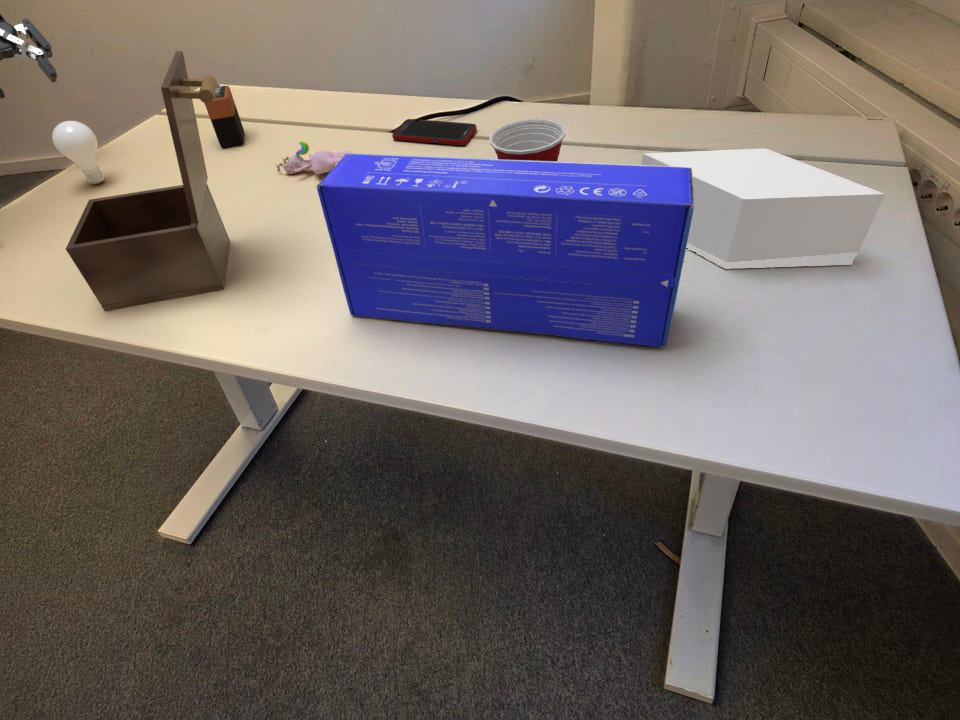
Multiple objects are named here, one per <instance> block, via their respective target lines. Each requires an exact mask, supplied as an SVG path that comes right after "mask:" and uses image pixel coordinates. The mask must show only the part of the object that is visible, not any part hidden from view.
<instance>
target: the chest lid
mask: <svg viewBox="0 0 960 720" xmlns="http://www.w3.org/2000/svg"><path fill="white" fill-rule="evenodd" d="M187 70H188V69H187V66H186V61H185V56H184V52H183V50H182V51H180V50H179V51H178V50H175V53H174V55H173V57H172V59H171V62H170V65H169V67H168V69H167V72H166V74H165V76H164V78H163V81H162V83H161V86H160V91H161V95H162V99H163V103H164V107H165V112H166V117H167V122H168V125H169V129H170V134H171V138H172V143H173V147H174V151H175V156H176V161H177V164H178V169H179V173H180V177H181V182H182V185H183V187H184V191H185V195H186V200H187V204H188V209H189V213H190V217H191V222H192V224H198V223H199V219H200V214H201V209H202V204H203V199H204V194H205V189H206V184H207V185H208V179H209V177H208V171H207V165H206V162H205V156H204V152H203V147H202V142H201V135H200V131H199V126H198V121H197V116H196V110H195V106H194V101H193V100H200V101H201V103H204V104H205V103H207V104H208V103H211V102H212V101H213V100H214V95H215V91H216V87H217V84H218V81H217V79H216V78H215V76H213V75H211V74H207V75H204V76H203V78H189V76H188V71H187ZM191 87H192V88H193V87H194V88H195V87H196V88H199V90H191Z"/></svg>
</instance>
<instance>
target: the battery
mask: <svg viewBox="0 0 960 720" xmlns="http://www.w3.org/2000/svg"><path fill="white" fill-rule="evenodd" d="M204 106H205V109H206V111H207V114H208V117H209V119H210V122H211V125H212V127H213V130H214V133H215V135H216V139H217V141H218V144H219V146H220V148H221V149H226V148H233V147H238V146H243V145H244V141H245V128H244V125H243V123H242V120H241V117H240V115H239V111H238V109H237V105H236V102H235V100H234V96H233V94H232V91H231V88H230V86H229V85H222V86H221V85H220V83H217V87H216V91H215V95H214V100H213V101H212V102H211V103H208V104H207V103H204Z"/></svg>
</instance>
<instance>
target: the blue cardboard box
mask: <svg viewBox="0 0 960 720" xmlns="http://www.w3.org/2000/svg"><path fill="white" fill-rule="evenodd" d="M316 190H317V194H318V197H319V202H320V205H321V209H322V213H323V216H324V217H323V218H324V221H325V224H326V228H327V232H328V235H329V239H330V243H331V247H332V251H333V254H334V259H335V262H336V266H337V270H338V274H339V278H340V282H341V285H342V289H343V293H344V296H345V301H346V303H347V308H348V311H349V314H350V315H351V316H353V317H358V318H372V319H373V318H374V319H383V320H391V321H392V320H394V321H402V322H410V323H411V322H412V323H422V324H431V325H445V326H452V327H460V328H461V327H462V328H471V329H472V328H473V329H482V330H492V331H501V332H503V331H504V332H511V333H512V332H513V333H523V334H535V335H545V336H546V335H547V336H559V337H561V338H572V339H580V340H581V339H582V340H591V341H598V342H599V341H600V342H608V343H609V342H611V343H620V344H629V345H638V346H639V345H640V346H647V347H648V346H650V347H659V346H665V347H667V346H668V342H669V341H668V340H669V337H670V336H669V335H670V330H671V326H672V321H673V316H674V311H675V307H676V302H677V301H676V300H677V296H678V291H679V286H680V281H681V275H682V272H683V265H684V262H685V261H684V260H685V255H686V251H687V249H686V246H687V241H688V235H689V231H690V226H691V221H692V216H693V210H694V187H693V171H692V169H691V168H689V167H676V166H652V165H641V164H627V163H626V164H624V163H603V162H576V161H575V162H574V161H557V162H553V161H527V160H500V159H498V158H497V159H496V158H468V157H467V158H466V157H447V156H445V157H443V156H422V155H421V156H420V155H419V156H417V155H395V154H373V153H372V154H369V153H368V154H367V153H353V154H345V156H344V157H343V158H342V159H341V160H340V161H339V162H338V163H336V164H335V167H334V168H333V169H332V170H331V171H329V172H328V174H326V176H324V177H323V178H322V179H321V180H320V182H318V184H317V185H316Z"/></svg>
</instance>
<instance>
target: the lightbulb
mask: <svg viewBox="0 0 960 720" xmlns="http://www.w3.org/2000/svg"><path fill="white" fill-rule="evenodd" d="M51 139H52V143H53V146H54V148H55V149H56V150H57V152H58V153H60V154H61V155H62V156H64V157H65V158H67V159H68V160H70V161H71V162H73V163H74V164H75V165H76V167H77V168H78V169H79V170H81V172H82V174H83V175H84V177H85V179H86V181H87V182H88V183H89V184H93V185H99V184H101V183H102V182H103V181H104V180H105V176H104V174H103V173H102V171H101V168H100V166H99V160H98V157H97V152H98V139H97V136H96V134H95V133H94V131H93V130H92V128H90V127H89V126H88V125H86V124H84V123H83V122H80V121H77V120H65V121H62V122H59V123H58V124H57V125H56V126H55V127H54V128H53V130H52V133H51Z"/></svg>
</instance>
